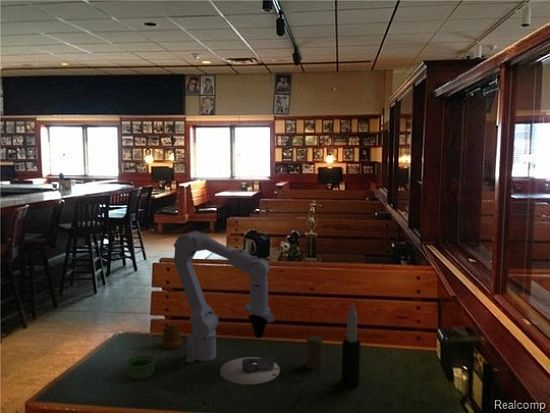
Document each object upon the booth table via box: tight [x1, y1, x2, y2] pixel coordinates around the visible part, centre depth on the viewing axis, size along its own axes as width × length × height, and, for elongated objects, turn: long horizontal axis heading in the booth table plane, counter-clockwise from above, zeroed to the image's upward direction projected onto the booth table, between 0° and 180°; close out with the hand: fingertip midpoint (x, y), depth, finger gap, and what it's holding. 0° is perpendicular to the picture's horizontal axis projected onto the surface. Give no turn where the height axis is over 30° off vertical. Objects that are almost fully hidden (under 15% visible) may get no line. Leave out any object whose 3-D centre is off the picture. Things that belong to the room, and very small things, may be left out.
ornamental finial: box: [160, 323, 183, 351], centre depth 168 cm, size 8×8×8 cm
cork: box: [305, 335, 324, 376], centre depth 149 cm, size 6×6×11 cm
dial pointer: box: [242, 357, 275, 372], centre depth 146 cm, size 10×5×3 cm, turn 95°
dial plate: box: [219, 356, 281, 385], centre depth 146 cm, size 19×19×2 cm
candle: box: [341, 302, 362, 388], centre depth 140 cm, size 5×5×25 cm
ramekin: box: [125, 354, 156, 380], centre depth 146 cm, size 9×9×4 cm
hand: (258, 337), depth 151 cm, fingers closed
